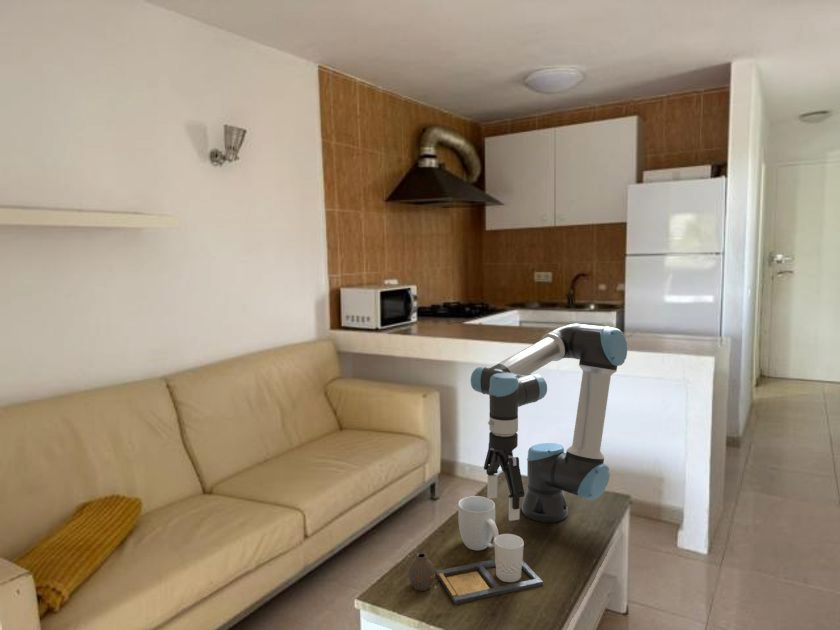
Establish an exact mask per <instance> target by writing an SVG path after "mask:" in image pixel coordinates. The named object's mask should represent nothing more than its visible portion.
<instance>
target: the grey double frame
mask: <svg viewBox="0 0 840 630" xmlns="http://www.w3.org/2000/svg"><path fill="white" fill-rule="evenodd" d="M493 567H496V565H495V558H494V559H490V560H485V561H484V560H483V561H478V562H475V563H468V564H464V565H460V566H453V567H449V568H444V569H443V568H442V569H438V570H435V572H436V573H435V576H437V578H438V580H439V581H440V583H441V584H442V586H443V588H444V589H445V591H446V592H447V594H448V596H449V597H450V599H451V600H452V601H453V604H455V605H458V604H459V605H460V604H463V603H468V602H473V601H477V600H482V599H486V598H490V597H495V596H499V595H503V594H508V593H513V592H518V591H522V590H526V589H531V588H536V587H541V586H543V585H544V581H543V580H542V579H541V578H540V576H538V575H537V574H536V572H534V571H533V569H532V568H531V567H530V566H529V565H528V564H527V563H526V562H525V561H524V560H523V561H522V568H521V569H523V571H524V572H525V573H526V574H527V575H528V576H529V577H530V578H531V579H528V580H524V581H519V582H518V581H517V582H513V583H510V584H505V585H499V584H498V582H497V581H496V580H495V579H494V577H493V576H492V575H491V574H490V572H489V571H488V570H487V569H488V568H493ZM481 575H482V576H481ZM482 577H483V578H482ZM484 579H485V580H484ZM487 583H488V584H487ZM488 585H489V586H488Z"/></svg>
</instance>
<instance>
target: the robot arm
mask: <svg viewBox="0 0 840 630" xmlns="http://www.w3.org/2000/svg"><path fill="white" fill-rule="evenodd" d="M627 355H628V344H627V339H626V337H625V335H624V333H623V331H622V330H621V329H619V328H615V327H610V326H607V325H605V326H603V325H593V324H582V323H570V324H567V325H563V326H560V327H558V328H555V329H553V330H550V331H548V332H546V333H545V334H543V335H542V336H541V338H540V340H538V341H537V342H535V343H533V344H531V345H530V346H528V347H526V348H523V349H522V350H520V351H518V352H517V353H515V354H513V355H512V356H509V357H507V358H506V359H504V360H502V361H500V362H499V363H497V364H495V365H493V366H491V367H486V366H481V367H480V366H479V367H476V368H475V369H474V370H473V372H472V373H471V376H470V386H471V388H472V389H473V391H475V392H478V393H480V394H482V395H488V396H489V414H488V415H489V420H488V422H487V424H488V425H489V434H488V435H489V436H488V449H487V453H486V457H485V460H484V465H483V470H484V471H486V472H485V473H486V475H487V488H486V489H487V493H486V494H487V497H486V498H488V499H490V500H491V499H494V498H495V499H496V498H498V473H499V471H498V470H499V469H501V472H503V473H504V475H505V480H506V483H507V486H508V491H509V495H507V496H508V520H509V522H512V521H518V520H520V509H521V513H522V514H523V515H524V516H525V517H526V518H528V519H531V520H533V521H537V522H541V523H542V522H543V523H556V522H560V521H563V520H564V519H566V518H567V517H568V512H569V511H568V505H567V501H566V498H565V494H564V492H566V493H569V494H572V495H573V496H574V495H575V496H577V497H578V498H581V499H582V498H583V499H587V500H591V501H592V500H596V499H598V498H599V497H600V496H601V495H603V494H604V492H605V490H606V488H607V486H608V483H609V481H610V475H611V473H610V472H611V471H610V469H609V466H608V465H607V464H605V462H604V461H605V456H604V455H603V453H602V452H601V447H602V441H603V433H604V428H605V427H604V425H605V418H606V414H607V413H606V412H607V405H608V400H609V399H608V397H609V390H610V386H611V385H610V383H611V376H613V375H614V374H615V373H616V372H617V371H618V367H619V366H622V365H623V364H624V363H625V361H626V359H627ZM563 359H575V360H579V361H578V366H579V368H580V369H581V370H582V374H581V375H582V376H581V383H580V389H579V395H578V397H579V398H578V403H577V404H578V405H577V411H576V417H575V425H574V430H573V436H572V437H573V439H572V444H571V446H570V447H568V448H567V449H566V452H565V448H564V446H563V445H562V444H560V443H555V442H554V443H553V442H543V443H538V444H535V445H532V446H530V447H529V449H528V451H527V458H526V461H527V466H526V467H527V472H526V473H527V474H526V475H527V481H526V482H527V483H526V484H527V485H526V487H527V488H526V491H525V489H524V484H523V479H522V473H521V468H520V458H519V457H518V456H515V457H514V453H513V451H514V450H515V449H516V448H517V447H518V438H519V435H518V433H517V432H519V407H522V406H525V405H529V404H532V403H533V404H534V403H536V402H538V401H540V400H543V398H545V397H546V395H547V392H548V384H547V381H546V380H545V378H544V377H543V376H542V375H540V374H538V373H534V372H536V371H538V370H540V368H543V367H544V366H547V365H548V364H549V363H552V362H558V361H560V360H563ZM520 498H523V500H522V502H520V500H521V499H520ZM520 503H521V508H520Z"/></svg>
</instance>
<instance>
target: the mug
mask: <svg viewBox="0 0 840 630" xmlns="http://www.w3.org/2000/svg"><path fill="white" fill-rule="evenodd" d="M457 507H458V508H457V509H458V511H457V515H458V516H457V519H458V522H457V523H458V529H459V534H460V537H461V541H462V543H463V544H464V545H465V546H466V548H468V549H469V550H473V551H483V550H485V549H487V548H495V547H494V539H495V538H496V537H497V536H498V535H500V534H499V530H498V527H497V524H496V504H495V502H494V501H493V500H492V499H491V498H490V499H488V498H487V497H485V496H479V495H470V496H466V497H463V498H461V499H460V500H459V501H458V506H457ZM492 539H493V541H492ZM491 542H492V543H491Z"/></svg>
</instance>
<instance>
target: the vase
mask: <svg viewBox="0 0 840 630" xmlns="http://www.w3.org/2000/svg"><path fill="white" fill-rule="evenodd" d="M435 572H436V570H435V568H434V564H433V562H432V561H431V560H430V559H429V558H428V556H427V554H426V553H424V552H419V553H417V554H416V557H415V558H414V559H413V561H412V562H411V563H410V566H409V569H408V579H409V583H410V585H411V586H412V587H413V588H414V589H415V590H417V591H420V592H421V591H422V592H424V591H427V590H428V589H430V587H432V586H433V584H434V581H435V577H436V573H435Z"/></svg>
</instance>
